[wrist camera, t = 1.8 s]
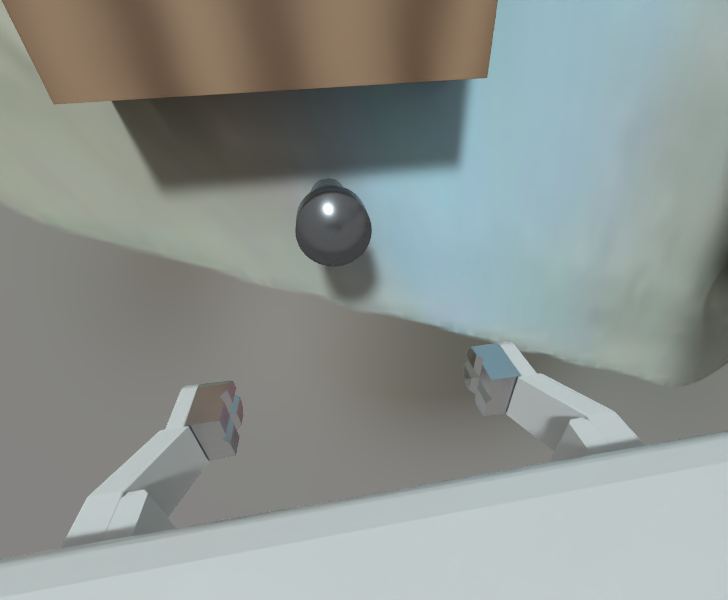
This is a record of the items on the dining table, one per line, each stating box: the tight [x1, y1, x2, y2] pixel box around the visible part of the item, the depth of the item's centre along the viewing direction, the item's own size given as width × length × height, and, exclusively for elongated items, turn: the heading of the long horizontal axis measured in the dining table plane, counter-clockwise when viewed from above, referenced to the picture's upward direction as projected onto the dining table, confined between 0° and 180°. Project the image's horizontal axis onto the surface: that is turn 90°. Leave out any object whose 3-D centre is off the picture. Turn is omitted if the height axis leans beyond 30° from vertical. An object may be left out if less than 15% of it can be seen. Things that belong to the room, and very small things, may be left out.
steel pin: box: [296, 178, 372, 266], centre depth 25 cm, size 5×5×8 cm
